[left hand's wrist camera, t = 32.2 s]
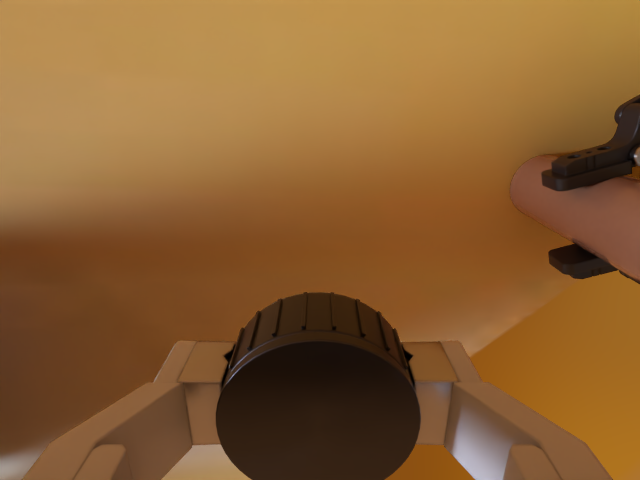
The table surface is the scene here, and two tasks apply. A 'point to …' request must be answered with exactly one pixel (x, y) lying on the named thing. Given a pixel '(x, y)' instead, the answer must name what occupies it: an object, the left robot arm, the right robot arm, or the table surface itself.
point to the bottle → (585, 213)
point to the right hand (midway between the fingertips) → (553, 224)
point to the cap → (318, 393)
